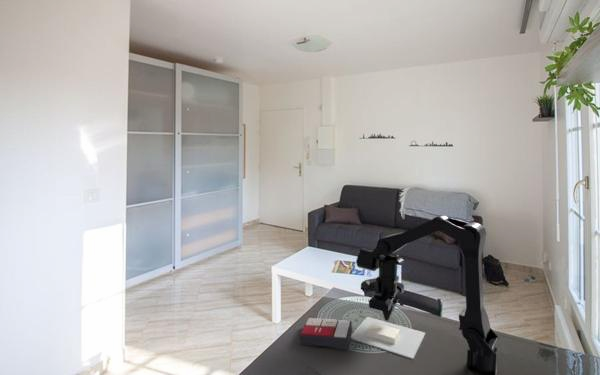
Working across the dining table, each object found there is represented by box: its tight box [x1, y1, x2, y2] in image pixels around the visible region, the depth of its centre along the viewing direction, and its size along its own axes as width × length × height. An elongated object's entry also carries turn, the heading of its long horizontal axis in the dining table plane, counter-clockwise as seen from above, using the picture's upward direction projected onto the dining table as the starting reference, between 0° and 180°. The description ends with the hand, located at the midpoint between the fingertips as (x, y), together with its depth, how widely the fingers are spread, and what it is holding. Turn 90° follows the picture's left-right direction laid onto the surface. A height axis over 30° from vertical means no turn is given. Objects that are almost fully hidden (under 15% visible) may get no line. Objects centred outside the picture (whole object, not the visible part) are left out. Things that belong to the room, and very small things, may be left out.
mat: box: [351, 316, 426, 360], centre depth 104 cm, size 20×16×1 cm
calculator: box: [299, 317, 353, 351], centre depth 103 cm, size 11×4×15 cm
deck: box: [367, 322, 400, 344], centre depth 104 cm, size 9×2×6 cm
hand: (386, 320), depth 106 cm, fingers closed
